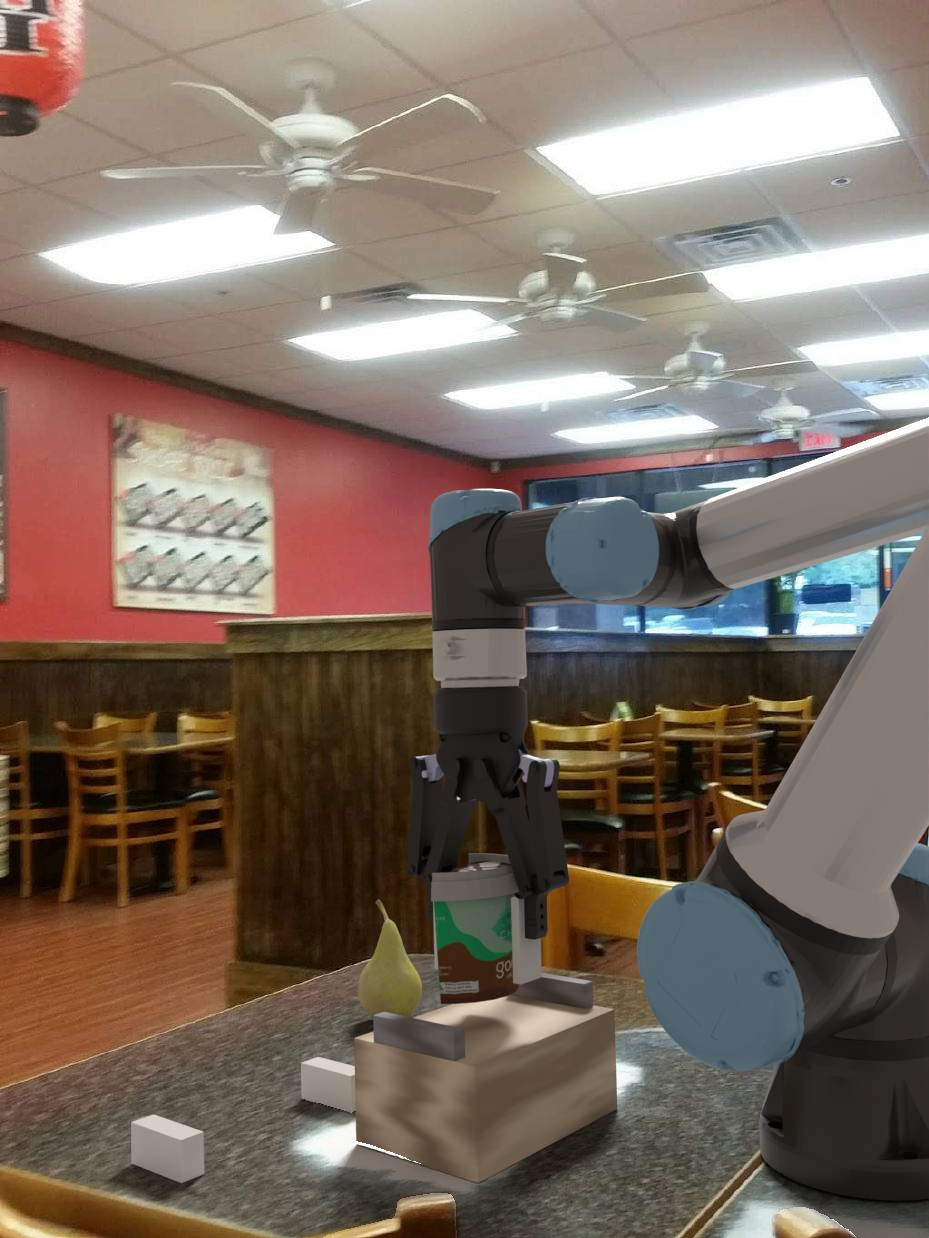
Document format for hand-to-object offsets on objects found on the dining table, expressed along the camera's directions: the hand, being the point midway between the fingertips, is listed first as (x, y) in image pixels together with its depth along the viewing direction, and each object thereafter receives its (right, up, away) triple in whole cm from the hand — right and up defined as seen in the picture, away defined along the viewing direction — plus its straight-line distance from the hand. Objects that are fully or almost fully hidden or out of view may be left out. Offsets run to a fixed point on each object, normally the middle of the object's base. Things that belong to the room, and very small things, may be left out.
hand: (487, 972), depth 96 cm
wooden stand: (0, -12, -1) cm, 12 cm away
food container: (+1, -2, 0) cm, 2 cm away
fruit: (-10, -14, +30) cm, 34 cm away
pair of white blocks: (-18, -12, -1) cm, 22 cm away
